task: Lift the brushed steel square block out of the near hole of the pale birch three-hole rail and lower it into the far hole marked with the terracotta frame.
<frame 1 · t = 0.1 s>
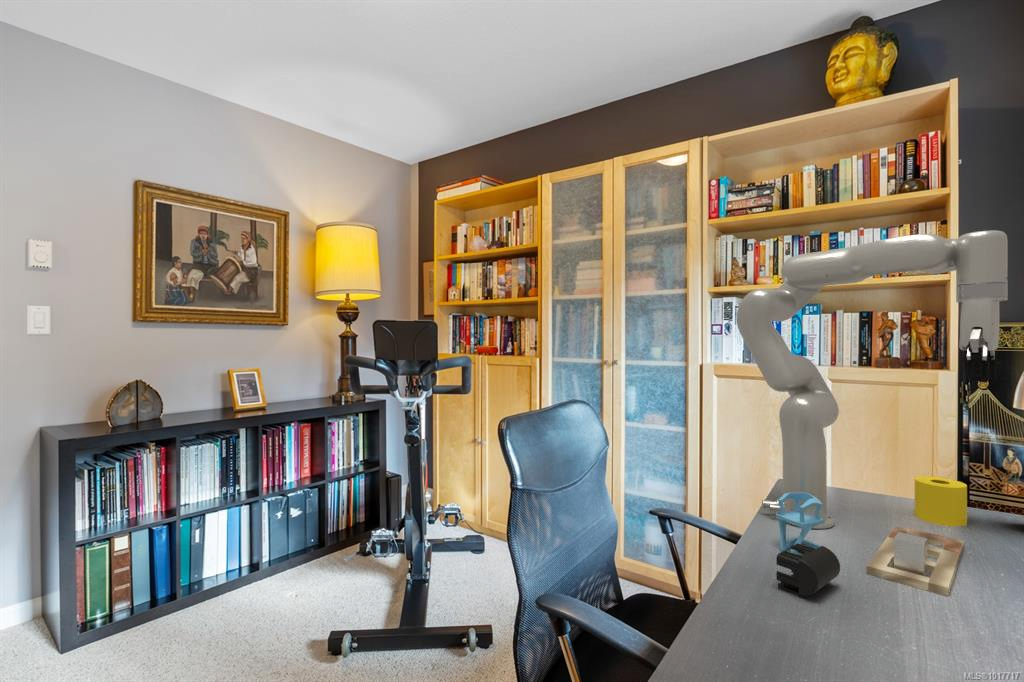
hand: (981, 379, 100), 37 cm above the table, tool pointing down, fingers open, 9 cm apart
tape roll: (940, 520, 126), on the table
chair: (799, 550, 108), on the table
power tool battery: (808, 589, 92), on the table
hole rail: (918, 559, 103), on the table
steel block: (910, 574, 97), resting in hole rail
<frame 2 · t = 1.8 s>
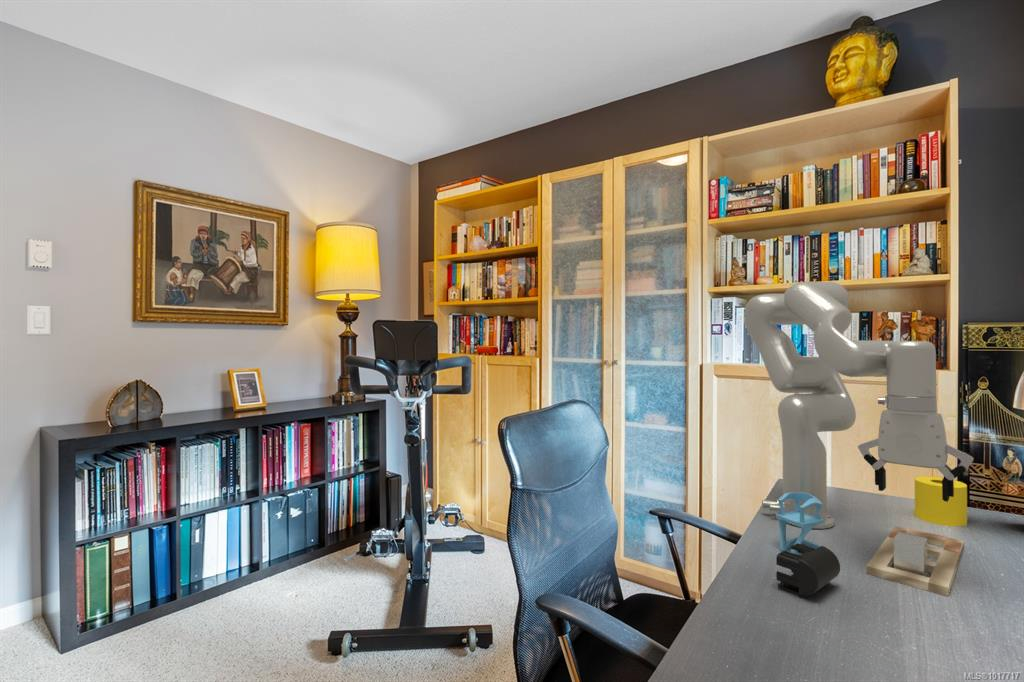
hand: (913, 494, 96), 16 cm above the table, tool pointing down, fingers open, 9 cm apart
nothing on the table moved.
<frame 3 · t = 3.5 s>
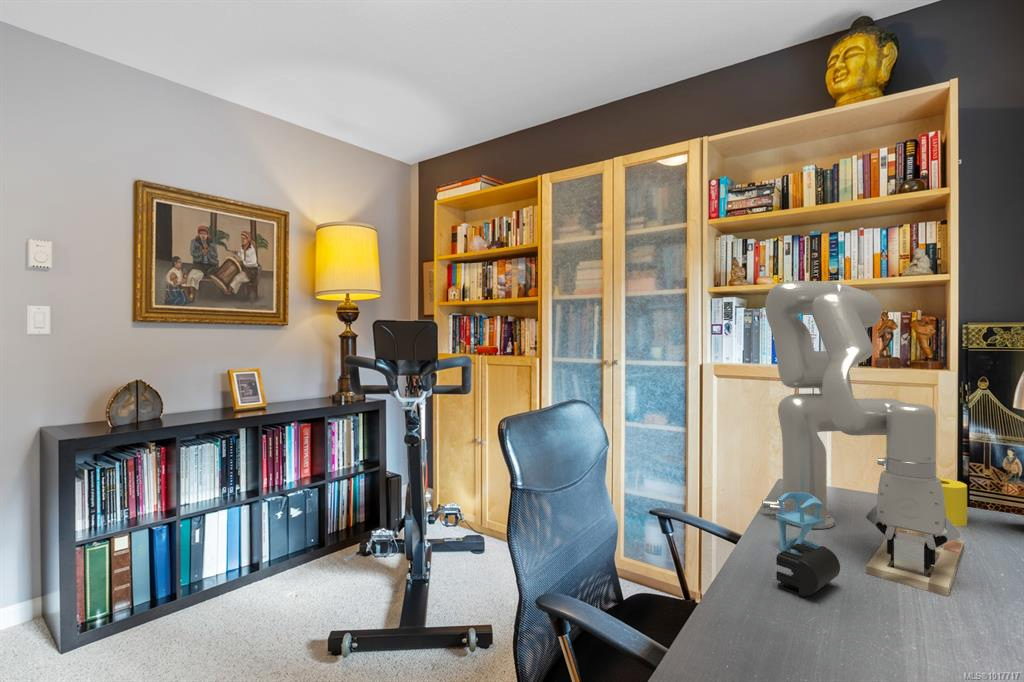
hand: (910, 562, 97), 2 cm above the table, tool pointing down, fingers closed on steel block, 4 cm apart
steel block: (910, 574, 97), resting in hole rail, touching gripper
everything else where it was.
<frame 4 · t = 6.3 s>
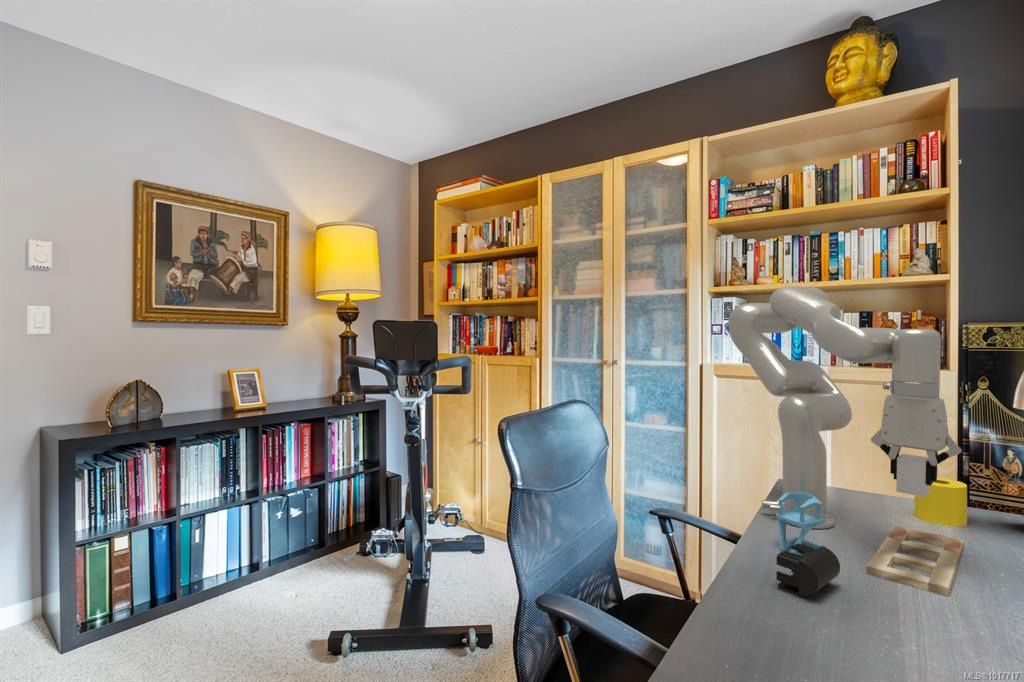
hand: (913, 480, 101), 17 cm above the table, tool pointing down, fingers closed on steel block, 4 cm apart
steel block: (912, 492, 101), point 15 cm above the table, touching gripper
everything else where it was.
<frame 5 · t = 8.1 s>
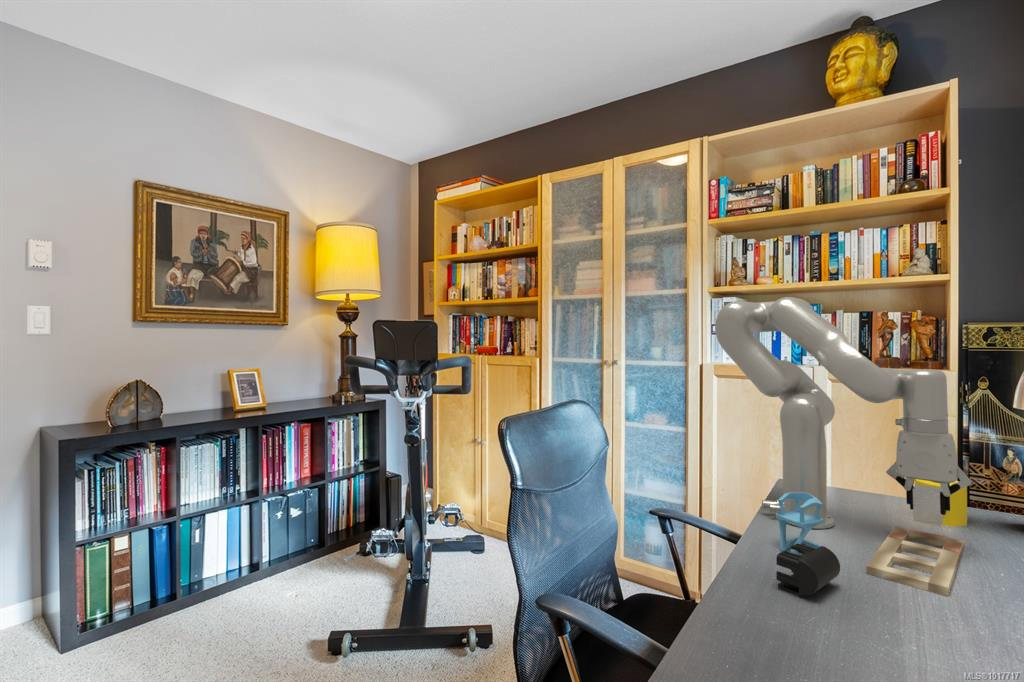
hand: (928, 509, 109), 8 cm above the table, tool pointing down, fingers closed on steel block, 4 cm apart
steel block: (928, 520, 109), point 6 cm above the table, touching gripper
everything else where it was.
when the fingers open (3 cm above the table, at t = 9.3 s): steel block stays where it is, resting in hole rail.
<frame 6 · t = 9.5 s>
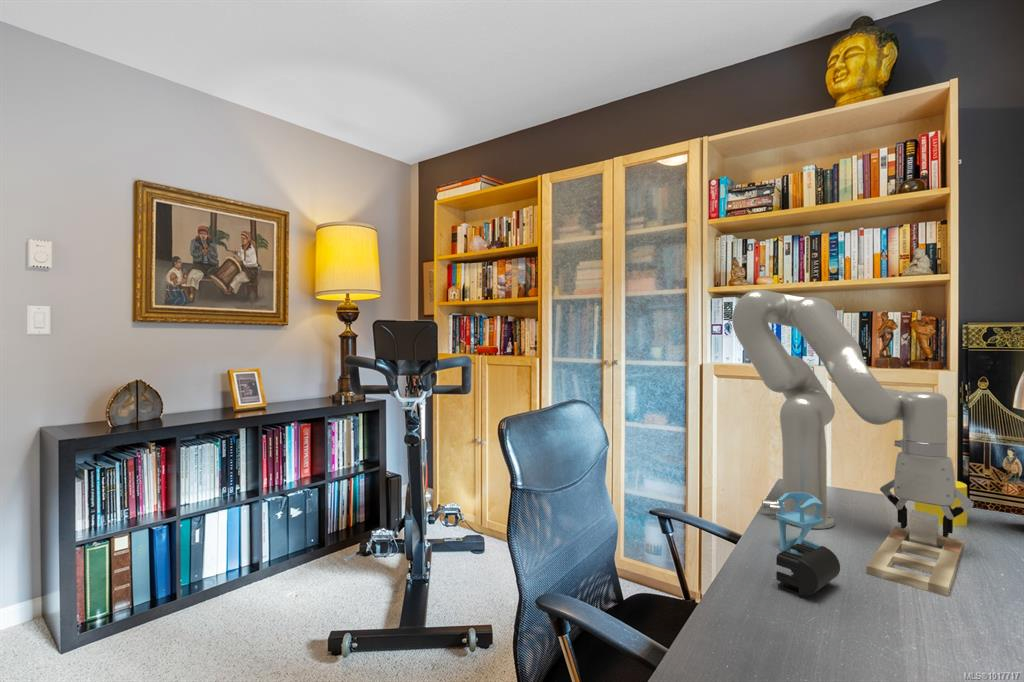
hand: (924, 530, 109), 4 cm above the table, tool pointing down, fingers open, 6 cm apart
steel block: (923, 547, 109), resting in hole rail
everything else where it was.
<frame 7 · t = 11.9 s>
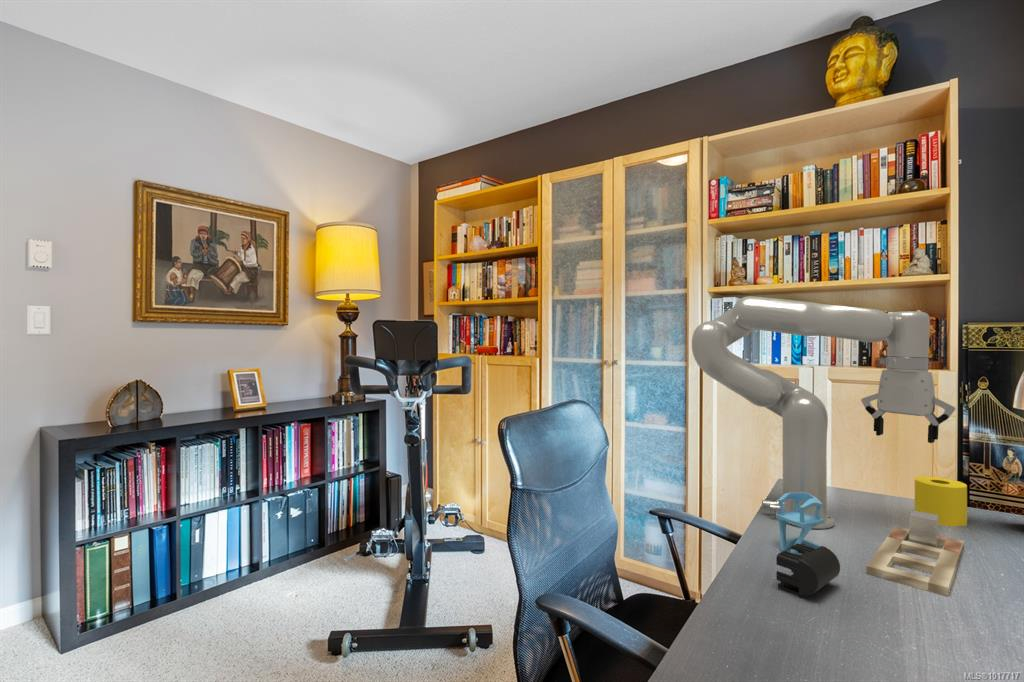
hand: (904, 438, 116), 22 cm above the table, tool pointing down, fingers open, 9 cm apart
nothing on the table moved.
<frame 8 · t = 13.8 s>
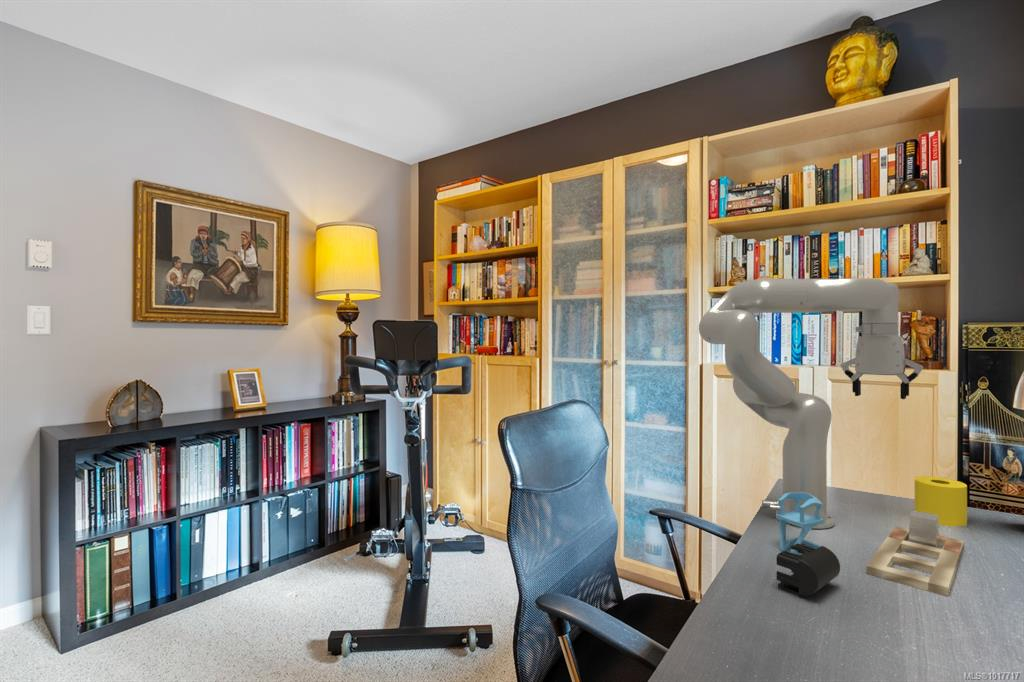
hand: (880, 397, 130), 30 cm above the table, tool pointing down, fingers open, 9 cm apart
nothing on the table moved.
at the end: steel block 0.1 cm from the target spot on the hole rail, point 0.0 cm above the hole rail's base; steel block tilted 0°; the gripper is holding nothing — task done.
